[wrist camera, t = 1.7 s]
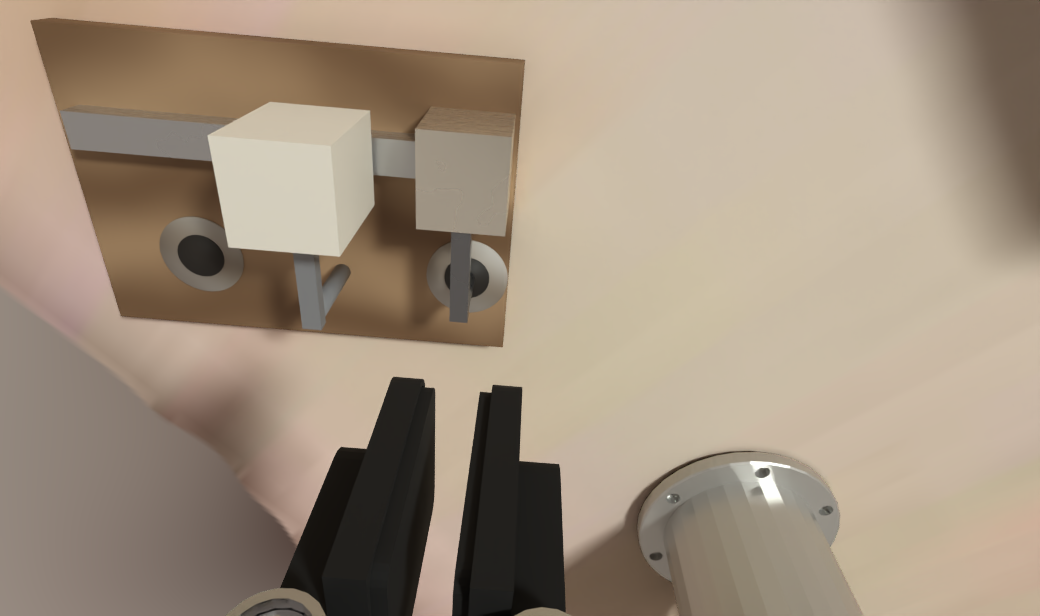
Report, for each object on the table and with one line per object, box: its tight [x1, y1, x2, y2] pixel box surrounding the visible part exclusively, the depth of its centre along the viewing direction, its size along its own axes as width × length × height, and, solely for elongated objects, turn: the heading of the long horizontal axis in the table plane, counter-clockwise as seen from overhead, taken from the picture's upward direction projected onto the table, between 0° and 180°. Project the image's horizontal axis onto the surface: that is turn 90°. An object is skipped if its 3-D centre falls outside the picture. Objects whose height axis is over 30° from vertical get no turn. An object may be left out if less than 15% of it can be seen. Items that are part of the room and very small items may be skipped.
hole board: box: [31, 18, 525, 347], centre depth 28 cm, size 14×20×1 cm
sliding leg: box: [207, 102, 375, 330], centre depth 24 cm, size 8×4×6 cm, turn 175°
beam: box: [60, 105, 516, 323], centre depth 26 cm, size 8×19×4 cm, turn 85°
